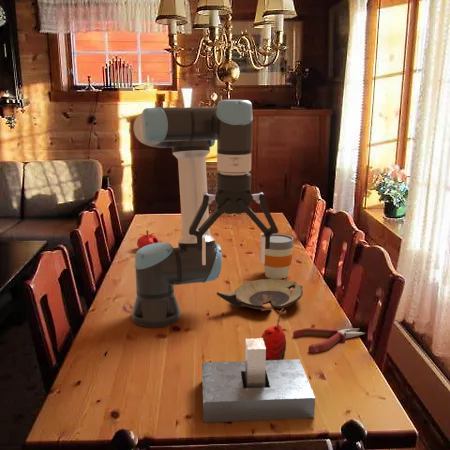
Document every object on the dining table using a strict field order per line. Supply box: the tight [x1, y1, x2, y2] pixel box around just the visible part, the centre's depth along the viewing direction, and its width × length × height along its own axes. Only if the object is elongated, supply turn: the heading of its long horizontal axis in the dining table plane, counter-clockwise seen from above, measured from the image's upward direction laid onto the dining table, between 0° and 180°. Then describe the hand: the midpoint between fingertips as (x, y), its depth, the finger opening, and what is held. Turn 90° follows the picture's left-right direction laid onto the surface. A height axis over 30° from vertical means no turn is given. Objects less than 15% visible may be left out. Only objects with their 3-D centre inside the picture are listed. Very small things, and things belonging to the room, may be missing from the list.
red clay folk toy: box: [260, 307, 287, 360], centre depth 130 cm, size 8×7×15 cm
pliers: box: [292, 327, 366, 354], centre depth 141 cm, size 11×20×3 cm, turn 109°
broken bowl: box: [216, 278, 304, 311], centre depth 165 cm, size 22×30×8 cm
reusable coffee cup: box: [263, 233, 295, 280], centre depth 190 cm, size 13×13×15 cm
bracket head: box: [201, 358, 316, 424], centre depth 113 cm, size 16×24×5 cm, turn 93°
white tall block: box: [244, 337, 266, 388], centre depth 112 cm, size 5×4×14 cm
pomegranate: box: [136, 230, 160, 250], centre depth 223 cm, size 10×10×9 cm
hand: (233, 262), depth 114 cm, fingers open, 13 cm apart
